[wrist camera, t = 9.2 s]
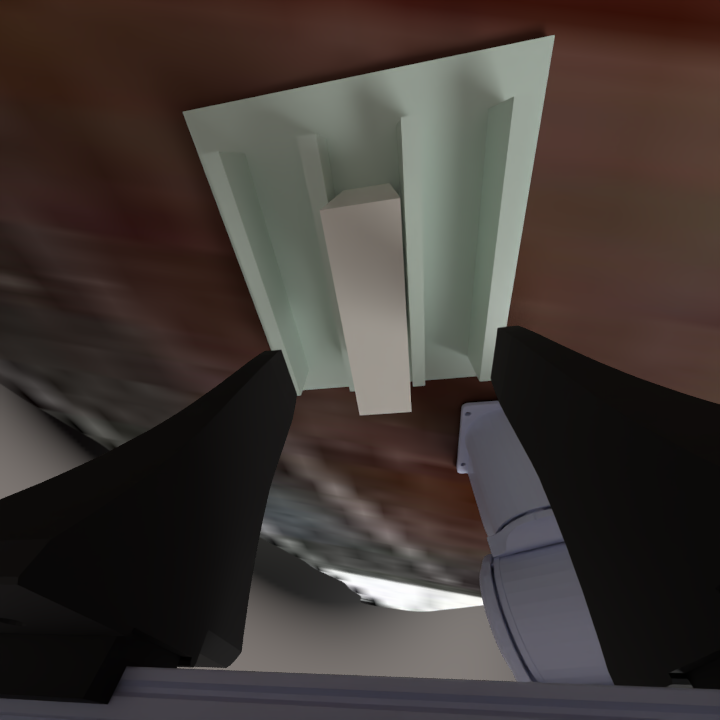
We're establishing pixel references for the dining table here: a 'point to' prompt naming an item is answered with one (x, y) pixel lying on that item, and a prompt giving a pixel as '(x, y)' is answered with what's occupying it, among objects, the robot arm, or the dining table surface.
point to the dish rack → (410, 181)
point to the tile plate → (371, 293)
